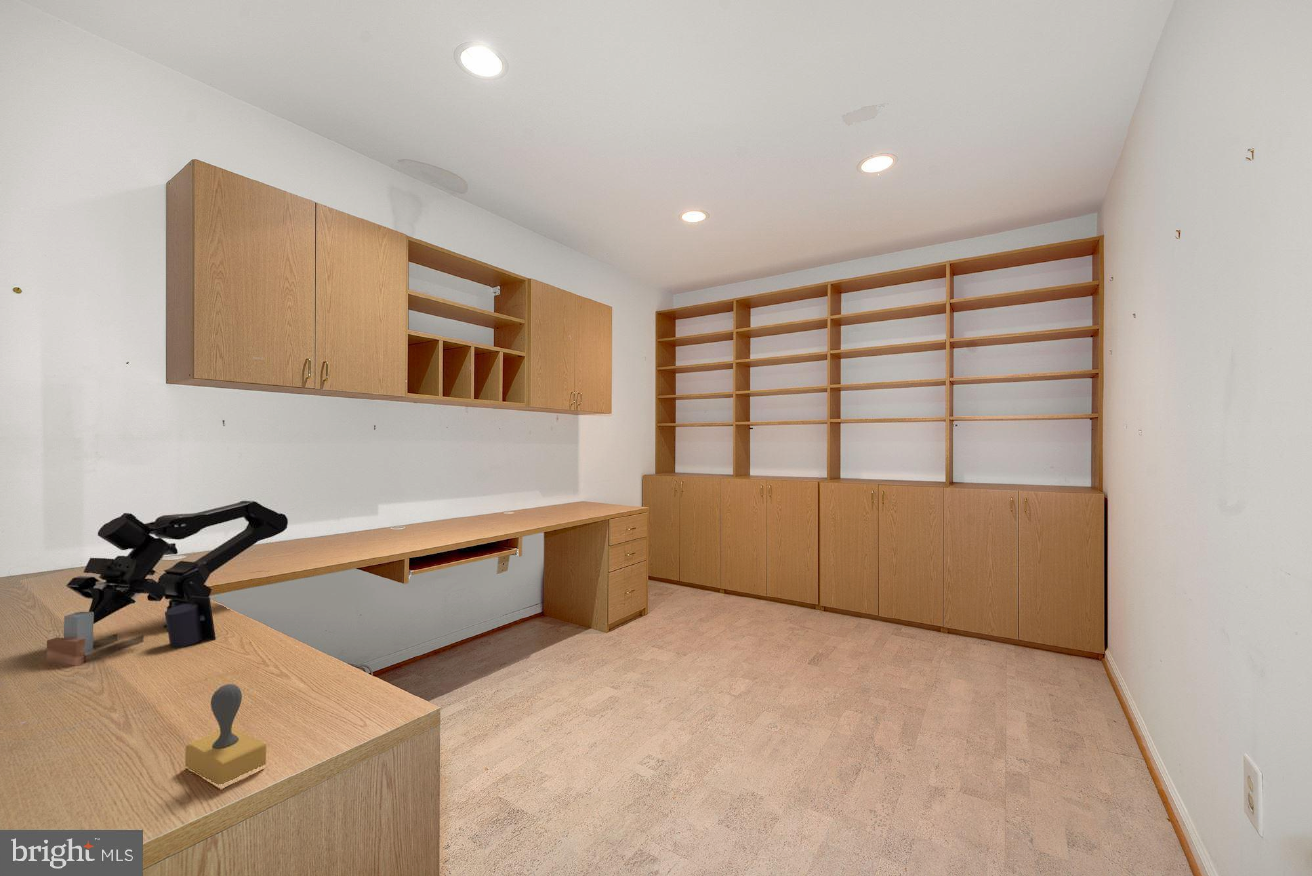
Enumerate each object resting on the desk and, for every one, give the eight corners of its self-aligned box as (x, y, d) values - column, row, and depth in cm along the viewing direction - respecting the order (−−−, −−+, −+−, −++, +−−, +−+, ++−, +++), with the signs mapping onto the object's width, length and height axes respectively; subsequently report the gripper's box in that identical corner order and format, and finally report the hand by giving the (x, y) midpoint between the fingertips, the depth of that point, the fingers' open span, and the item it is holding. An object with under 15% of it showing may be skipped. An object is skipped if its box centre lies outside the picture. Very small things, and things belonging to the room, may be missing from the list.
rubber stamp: (184, 769, 75) (185, 685, 76) (231, 749, 81) (233, 670, 81) (219, 791, 71) (220, 701, 71) (267, 768, 76) (268, 684, 76)
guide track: (114, 640, 122) (114, 618, 122) (143, 641, 122) (143, 619, 122) (44, 664, 109) (45, 640, 109) (77, 665, 109) (77, 641, 109)
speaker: (207, 633, 127) (203, 591, 126) (216, 639, 124) (212, 596, 123) (165, 646, 121) (160, 602, 120) (173, 653, 118) (169, 608, 116)
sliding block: (75, 654, 114) (76, 611, 114) (97, 655, 113) (98, 612, 113) (58, 660, 111) (59, 615, 111) (81, 660, 110) (82, 616, 110)
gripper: (76, 540, 120) (13, 605, 109) (153, 543, 118) (98, 608, 108) (114, 566, 128) (59, 629, 117) (186, 569, 126) (138, 632, 115)
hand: (87, 624), depth 114 cm, fingers closed, pressing on sliding block
